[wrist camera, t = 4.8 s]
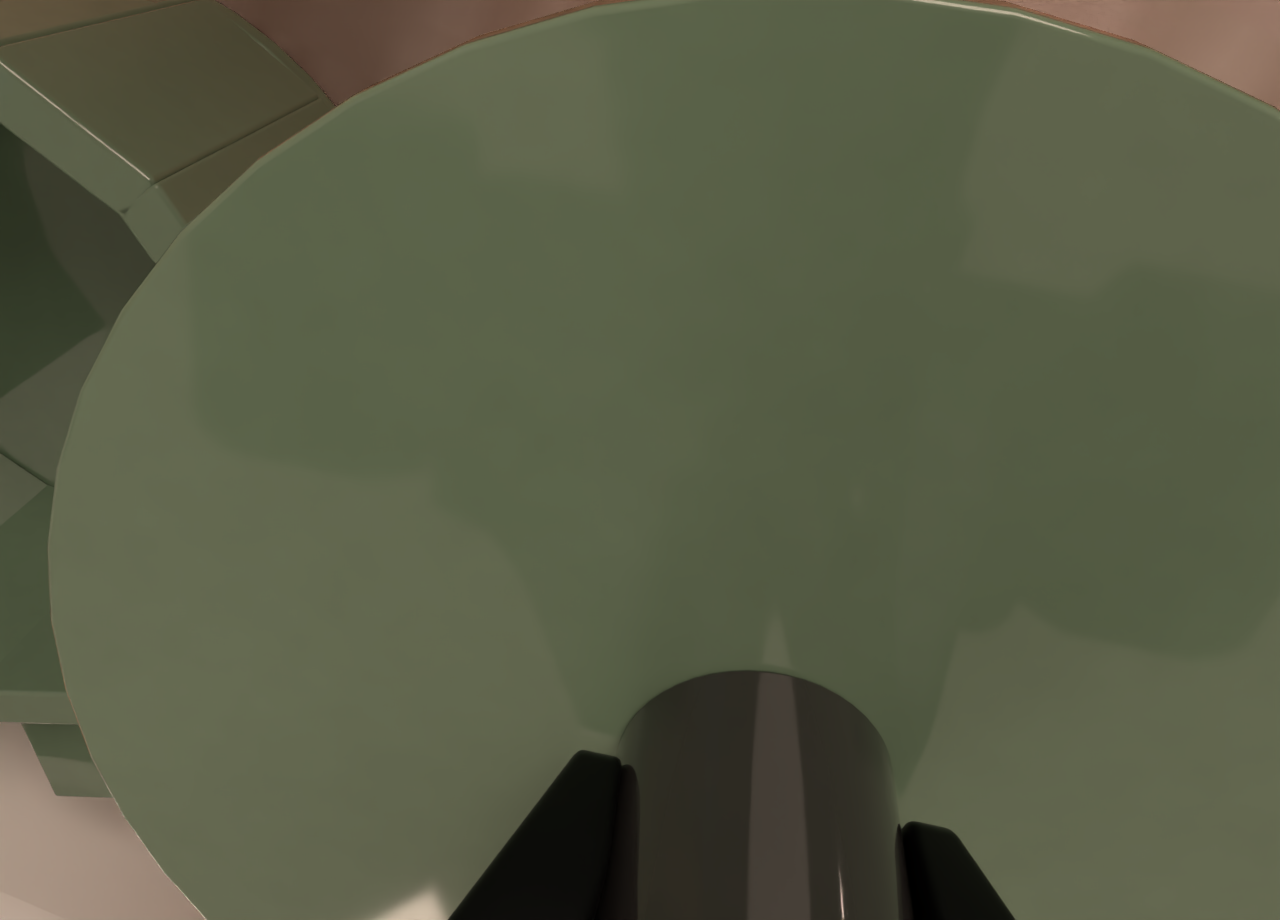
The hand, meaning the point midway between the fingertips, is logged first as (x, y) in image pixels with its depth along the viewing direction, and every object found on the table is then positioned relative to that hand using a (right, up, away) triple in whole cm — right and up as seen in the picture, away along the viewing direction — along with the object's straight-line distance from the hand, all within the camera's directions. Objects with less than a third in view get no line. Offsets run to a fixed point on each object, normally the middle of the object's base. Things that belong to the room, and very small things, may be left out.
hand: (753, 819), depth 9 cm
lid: (0, +1, +1) cm, 1 cm away
